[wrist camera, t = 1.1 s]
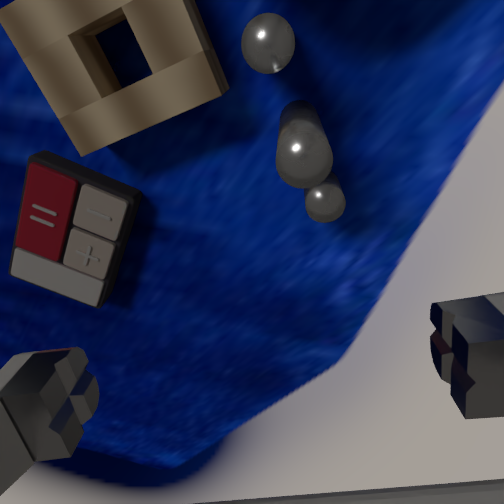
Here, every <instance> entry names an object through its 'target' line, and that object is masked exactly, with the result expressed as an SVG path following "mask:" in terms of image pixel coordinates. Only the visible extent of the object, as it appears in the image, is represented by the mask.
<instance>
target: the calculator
mask: <svg viewBox="0 0 504 504" xmlns="http://www.w3.org/2000/svg"><path fill="white" fill-rule="evenodd" d="M141 197H142V192H141V191H140V190H138V189H136V188H133V187H131V186H129V185H126V184H124V183H122V182H119V181H117V180H115V179H112V178H110V177H108V176H105V175H103V174H101V173H98V172H96V171H94V170H91V169H89V168H87V167H84V166H82V165H80V164H77V163H75V162H73V161H70V160H68V159H66V158H63V157H61V156H58V155H56V154H54V153H51V152H49V151H46V150H44V151H41V152H38V153H36V154H33V155H31V156H29V158H28V163H27V169H26V175H25V180H24V186H23V192H22V197H21V203H20V209H19V214H18V220H17V226H16V232H15V237H14V243H13V249H12V254H11V260H10V266H9V274H10V275H11V276H13V277H16V278H18V279H21V280H24V281H26V282H29V283H31V284H34V285H37V286H39V287H42V288H45V289H47V290H50V291H52V292H55V293H58V294H60V295H63V296H66V297H68V298H71V299H74V300H76V301H79V302H81V303H84V304H87V305H89V306H92V307H95V308H101V307H102V306H103V304H104V303H105V301H106V300H107V299H108V297H109V296H110V294H111V293H112V290H113V287H114V284H115V281H116V278H117V274H118V271H119V266H120V263H121V260H122V257H123V254H124V251H125V248H126V245H127V242H128V238H129V235H130V232H131V229H132V226H133V223H134V220H135V217H136V213H137V210H138V207H139V204H140V201H141Z"/></svg>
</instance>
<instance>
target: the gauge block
mask: <svg viewBox="0 0 504 504" xmlns="http://www.w3.org/2000/svg"><path fill="white" fill-rule="evenodd" d="M125 19H127V20H128V22H129V24H130V26H131V28H132V31H133V33H134V35H135V37H136V39H137V41H138V43H139V45H140V47H141V49H142V52H143V54H144V56H145V58H146V60H147V62H148V64H149V66H150V68H151V71H152V73H153V75H151V76H148V77H146V78H144V79H142V80H140V81H138V82H136V83H134V84H132V85H129V86H127V87H125V88H123V89H122V87H121V85H120V83H119V81H118V79H117V77H116V75H115V73H114V72H113V70H112V68H111V66H110V64H109V62H108V60H107V58H106V56H105V54H104V52H103V50H102V48H101V46H100V44H99V42H98V40H97V39H96V37H95V35H97V34H99V33H100V32H102V31H104V30H106V29H108V28H110V27H112V26H114V25H116V24H118V23H120V22H121V21H123V20H125ZM0 23H1V24H2V26H3V28H4V29H5V31H6V33H7V34H8V36H9V38H10V39H11V41H12V43H13V44H14V46H15V48H16V49H17V51H18V53H19V54H20V56H21V58H22V59H23V61H24V63H25V64H26V66H27V67H28V69H29V71H30V72H31V74H32V76H33V77H34V79H35V81H36V82H37V84H38V86H39V87H40V89H41V91H42V92H43V94H44V96H45V97H46V99H47V101H48V102H49V104H50V106H51V107H52V109H53V111H54V112H55V114H56V116H57V117H58V119H59V121H60V122H61V124H62V126H63V127H64V129H65V131H66V132H67V134H68V135H69V137H70V139H71V140H72V142H73V144H74V145H75V147H76V149H77V150H78V152H79V154H80V155H81V157H82V156H84V155H86V154H89V153H91V152H93V151H95V150H98V149H100V148H102V147H105V146H107V145H109V144H111V143H114V142H116V141H118V140H121V139H123V138H125V137H128V136H130V135H132V134H134V133H137V132H139V131H141V130H144V129H146V128H148V127H150V126H153V125H155V124H157V123H160V122H162V121H164V120H167V119H169V118H171V117H173V116H176V115H178V114H180V113H183V112H185V111H187V110H189V109H192V108H194V107H196V106H199V105H201V104H203V103H205V102H208V101H210V100H212V99H215V98H217V97H219V96H222V95H223V94H224V93H225V92H226V91H227V90H228V89H229V85H228V83H227V80H226V78H225V75H224V73H223V70H222V68H221V65H220V63H219V60H218V58H217V55H216V53H215V50H214V48H213V45H212V43H211V40H210V38H209V35H208V33H207V30H206V28H205V25H204V23H203V20H202V18H201V15H200V13H199V10H198V8H197V5H196V3H195V0H15V1H13V2H12V3H10V4H8V5H7V6H5V7H3V8H1V9H0Z"/></svg>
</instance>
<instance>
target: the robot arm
mask: <svg viewBox="0 0 504 504" xmlns="http://www.w3.org/2000/svg"><path fill="white" fill-rule="evenodd" d="M430 320H431V322H432V323H433V325H434V326H435V327H436V330H435V332H433V334H432V335H431V336H430V345H431V354H432V358H433V363H434V365H435V368H436V370H437V372H438V374H439V376H440V377H441V379H442V380H444V381H446V382H447V383H449V384H451V396H452V398H453V400H454V401H455V403H456V405H457V406H458V408H459V410H460V411H461V413H462V414H463V416H464V418H465V419H476V418H490V417H504V292H501V293H495V294H489V295H482V296H478V297H471V298H464V299H457V300H450V301H444V302H437V303H432V305H431V309H430ZM87 364H88V359H87V357H86V355H85V353H84V351H83V350H82V349H80V348H78V347H74V348H64V349H55V350H45V351H39V352H38V351H35V352H28V353H21V354H18V355H14V356H13V357H12V358H11V359H10V360H9V361H8V362H7V363H6V364H5V366H4V367H3V368H2V369H1V370H0V496H1V495H2V494H3V493H4V492H5V491H6V490H7V489H8V488H9V487H10V486H11V485H12V484H13V483H14V482H15V481H16V480H18V479H19V477H21V476H22V475H23V474H24V473H25V472H26V471H27V470H28V469H29V468H30V467H31V466H32V465H33V464H34V462H35V461H43V460H51V459H58V458H67V457H71V455H72V453H73V452H74V450H75V448H76V446H77V444H78V442H79V440H80V439H81V437H82V435H83V433H84V430H83V427H82V424H84V423H85V422H86V421H87V420H89V419H90V418H91V417H92V416H93V414H94V412H95V410H96V408H97V405H98V399H99V389H98V384H97V381H96V378H95V376H94V375H92V374H91V373H90V372H88V371H87V370H86V367H87ZM195 504H504V479H497V480H484V481H473V482H460V483H448V484H435V485H422V486H411V487H410V486H409V487H396V488H384V489H371V490H358V491H346V492H332V493H320V494H307V495H295V496H281V497H271V498H270V497H269V498H257V499H244V500H232V501H219V502H209V503H195Z"/></svg>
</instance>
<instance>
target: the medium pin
mask: <svg viewBox="0 0 504 504" xmlns="http://www.w3.org/2000/svg"><path fill="white" fill-rule="evenodd" d="M241 47H242V53H243V56H244V58H245V60H246V62H247V63H248V64H249V65H250V66H251V67H252V68H253V69H254V70H256V71H258V72H260V73H265V74H271V73H275V72H278V71H280V70H281V69H283V68H284V67H285V66H286V65H287V64H288V63H289V61H290V60H291V58H292V56H293V53H294V49H295V37H294V33H293V30H292V28H291V26H290V25H289V23H288V22H287V21H286V20H285V19H284V18H283V17H281V16H279V15H277V14H273V13H264V14H260V15H258V16H256V17H255V18H253V19H252V20H251V21H250V22H249V23H248V24H247V26H246V28H245V30H244V32H243V35H242V41H241Z"/></svg>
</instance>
